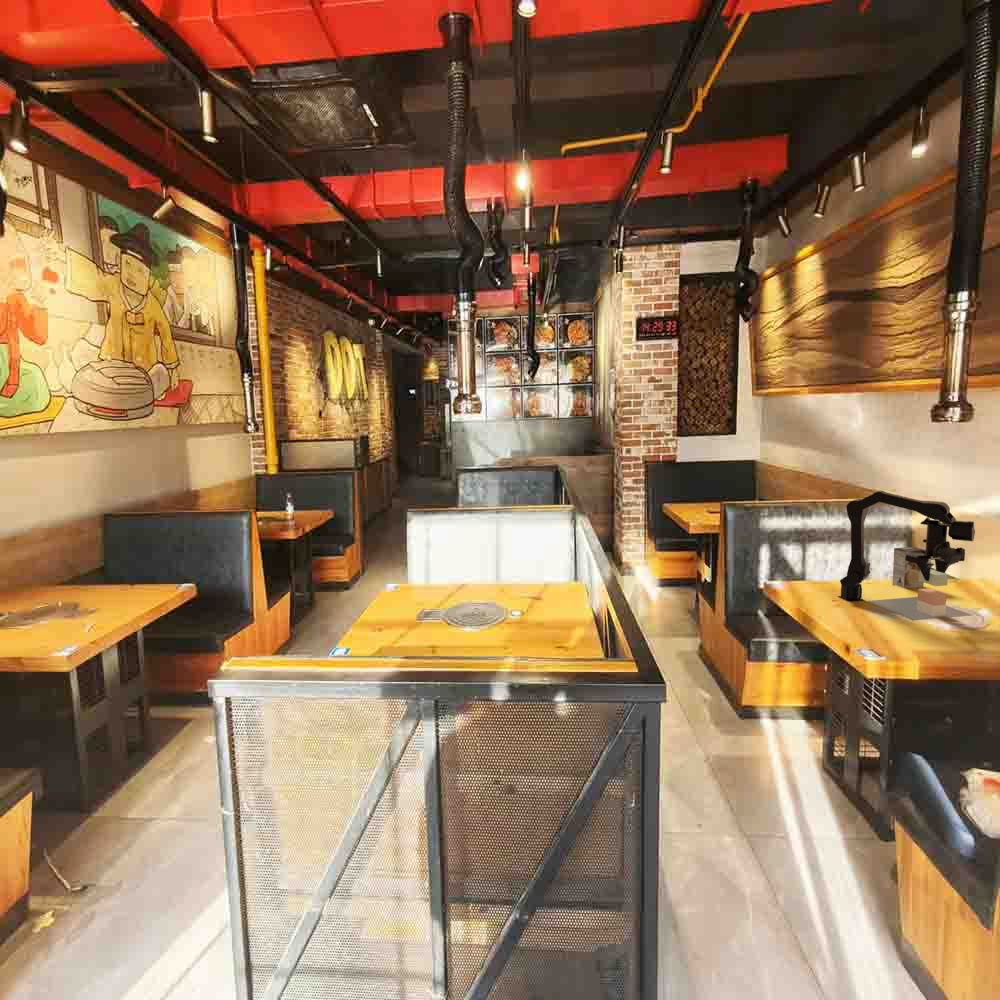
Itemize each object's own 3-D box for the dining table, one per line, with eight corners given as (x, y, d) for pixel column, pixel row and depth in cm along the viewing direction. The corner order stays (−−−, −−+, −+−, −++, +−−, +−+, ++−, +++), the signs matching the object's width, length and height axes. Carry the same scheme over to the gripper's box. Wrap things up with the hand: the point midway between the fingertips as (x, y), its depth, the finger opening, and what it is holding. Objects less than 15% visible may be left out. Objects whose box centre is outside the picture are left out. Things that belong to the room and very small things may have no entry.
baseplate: (912, 621, 204) (913, 609, 203) (865, 602, 225) (865, 591, 224) (973, 616, 207) (974, 604, 206) (920, 597, 228) (921, 586, 228)
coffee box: (911, 583, 247) (913, 546, 244) (923, 587, 240) (926, 549, 238) (891, 584, 245) (893, 547, 243) (903, 589, 239) (906, 551, 237)
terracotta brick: (945, 604, 206) (946, 594, 206) (934, 605, 206) (935, 595, 205) (928, 598, 213) (929, 588, 213) (917, 599, 212) (918, 589, 212)
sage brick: (947, 585, 205) (948, 574, 205) (935, 586, 205) (936, 575, 204) (930, 580, 212) (931, 569, 212) (918, 580, 212) (919, 570, 211)
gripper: (932, 544, 197) (929, 588, 199) (981, 540, 199) (977, 584, 202) (905, 537, 208) (902, 579, 210) (951, 534, 210) (948, 576, 212)
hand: (933, 580), depth 208 cm, fingers closed on sage brick, 5 cm apart
